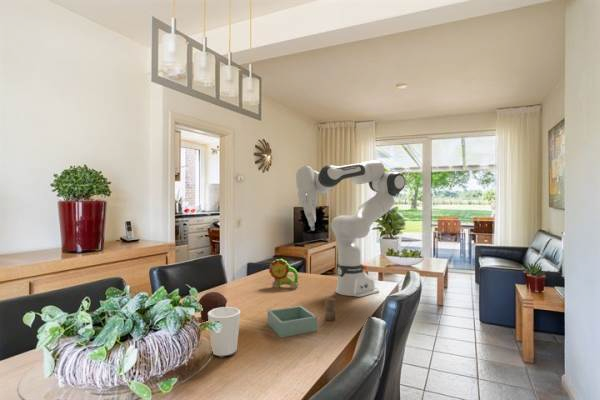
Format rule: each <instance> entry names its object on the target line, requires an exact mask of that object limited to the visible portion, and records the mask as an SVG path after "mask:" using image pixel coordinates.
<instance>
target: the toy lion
mask: <svg viewBox="0 0 600 400" xmlns="http://www.w3.org/2000/svg"><path fill="white" fill-rule="evenodd" d="M268 269H269V270H268V272H269V274H270V275H271V277H272V278H273V279H274V281H272V287H273V288H275V289H277V288H279V287H281V286H283V285H288V286H289V287H290V288H291V289H292V290H295V289H297V288H298V286H299V274H298V271H297V269H296V268H294V267H292V266H290V264H289V263H288V261H287V260H285V259H283V258H280V259H278V258H277V259H275V260H273V261H272V262H270V265H269V267H268ZM290 272H291V273H293V274H294V279H293V278H291V277H290V276H288V274H289V273H290Z"/></svg>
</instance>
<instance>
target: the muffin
mask: <svg viewBox="0 0 600 400" xmlns="http://www.w3.org/2000/svg"><path fill="white" fill-rule="evenodd" d="M198 302H199V303H200V304H201V305H202V308H203V311H201V312H200V319H201V321H202V320H203V322H205V321H208V312H209V311H211V310H213V309H216V308H220V307H227V303H228V300H227V298H226V297H225V295H223V294H221V293H220V292H218V291H209V292H206V293H205V294H203V295H202V296H201V297H200V299H199V300H198Z"/></svg>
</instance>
